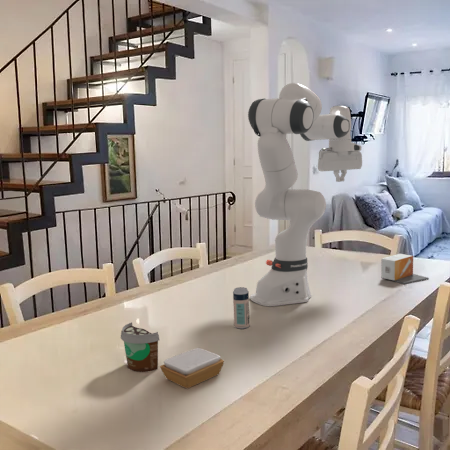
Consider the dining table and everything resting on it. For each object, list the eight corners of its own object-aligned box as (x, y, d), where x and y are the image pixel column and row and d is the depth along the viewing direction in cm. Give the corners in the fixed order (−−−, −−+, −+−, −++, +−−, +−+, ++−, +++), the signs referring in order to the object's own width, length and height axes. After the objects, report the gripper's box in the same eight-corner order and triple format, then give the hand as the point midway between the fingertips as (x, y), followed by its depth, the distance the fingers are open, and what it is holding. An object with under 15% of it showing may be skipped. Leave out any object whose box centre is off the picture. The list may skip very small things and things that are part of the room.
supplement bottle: (246, 323, 161) (244, 286, 160) (252, 328, 157) (251, 289, 155) (231, 325, 160) (230, 288, 158) (237, 330, 155) (236, 291, 154)
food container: (113, 365, 134) (110, 328, 132) (133, 357, 138) (130, 321, 136) (141, 378, 125) (138, 339, 123) (161, 370, 129) (159, 332, 128)
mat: (404, 284, 199) (404, 282, 199) (381, 277, 209) (381, 276, 209) (428, 279, 204) (428, 277, 204) (405, 273, 215) (405, 271, 215)
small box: (395, 260, 200) (413, 255, 208) (381, 258, 205) (399, 253, 213) (394, 281, 202) (413, 274, 210) (380, 278, 207) (399, 272, 215)
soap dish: (186, 393, 117) (185, 372, 117) (160, 380, 124) (158, 360, 123) (225, 374, 126) (224, 355, 125) (198, 363, 133) (197, 345, 132)
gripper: (324, 148, 201) (324, 183, 203) (364, 146, 210) (364, 180, 212) (314, 148, 207) (314, 182, 209) (354, 146, 216) (354, 179, 218)
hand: (340, 181), depth 210 cm, fingers closed
